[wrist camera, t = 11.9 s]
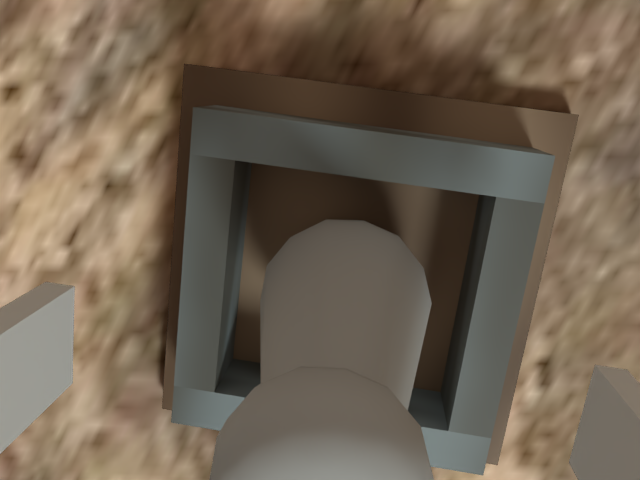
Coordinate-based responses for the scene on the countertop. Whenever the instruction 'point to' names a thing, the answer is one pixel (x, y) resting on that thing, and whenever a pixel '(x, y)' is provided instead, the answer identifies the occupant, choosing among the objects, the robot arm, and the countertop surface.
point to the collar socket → (373, 207)
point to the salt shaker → (334, 363)
